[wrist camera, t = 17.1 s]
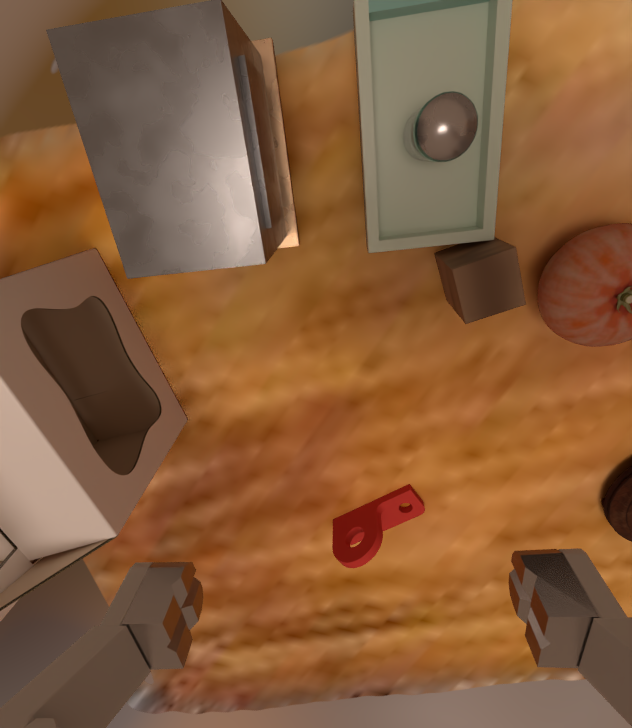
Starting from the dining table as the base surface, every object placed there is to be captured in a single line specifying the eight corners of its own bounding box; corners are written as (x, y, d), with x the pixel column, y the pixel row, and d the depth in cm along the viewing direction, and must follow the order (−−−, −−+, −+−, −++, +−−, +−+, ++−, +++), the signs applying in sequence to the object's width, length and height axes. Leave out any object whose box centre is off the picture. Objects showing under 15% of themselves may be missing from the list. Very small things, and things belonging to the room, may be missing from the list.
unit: (272, 40, 32) (234, -30, 21) (299, 244, 39) (282, 276, 28) (131, 63, 33) (21, 9, 22) (182, 257, 40) (118, 293, 29)
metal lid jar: (453, 101, 32) (481, 86, 26) (451, 159, 34) (476, 158, 28) (401, 108, 33) (416, 95, 27) (402, 164, 35) (415, 165, 28)
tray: (500, -14, 30) (514, -31, 27) (483, 234, 38) (493, 239, 35) (352, 10, 31) (353, -3, 28) (366, 247, 39) (368, 253, 36)
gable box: (189, 421, 49) (33, 685, 24) (98, 443, 52) (-129, 704, 27) (95, 244, 40) (-311, 374, 15) (-10, 281, 43) (-511, 445, 18)
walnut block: (486, 233, 38) (515, 247, 31) (496, 282, 40) (525, 304, 33) (434, 253, 39) (452, 269, 32) (446, 299, 41) (465, 323, 34)
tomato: (499, 281, 40) (534, 307, 32) (598, 191, 36) (663, 198, 28) (565, 348, 42) (611, 385, 35) (664, 271, 38) (738, 295, 31)
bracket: (351, 538, 57) (352, 591, 50) (333, 518, 55) (332, 570, 48) (426, 505, 53) (439, 557, 46) (409, 483, 52) (420, 533, 45)
